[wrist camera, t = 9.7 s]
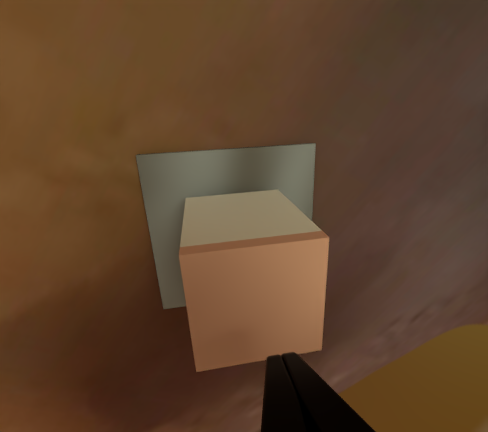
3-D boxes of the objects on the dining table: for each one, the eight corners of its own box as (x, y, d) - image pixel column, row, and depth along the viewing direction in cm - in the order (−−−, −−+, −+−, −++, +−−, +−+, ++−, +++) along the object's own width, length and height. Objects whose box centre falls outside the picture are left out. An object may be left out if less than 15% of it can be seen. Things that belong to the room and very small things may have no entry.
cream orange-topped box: (277, 189, 16) (329, 237, 10) (278, 268, 18) (321, 350, 12) (185, 198, 15) (178, 255, 9) (196, 279, 17) (196, 371, 11)
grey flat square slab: (313, 143, 16) (391, 163, 10) (307, 286, 20) (361, 370, 13) (136, 154, 15) (91, 186, 8) (163, 306, 18) (146, 411, 12)
